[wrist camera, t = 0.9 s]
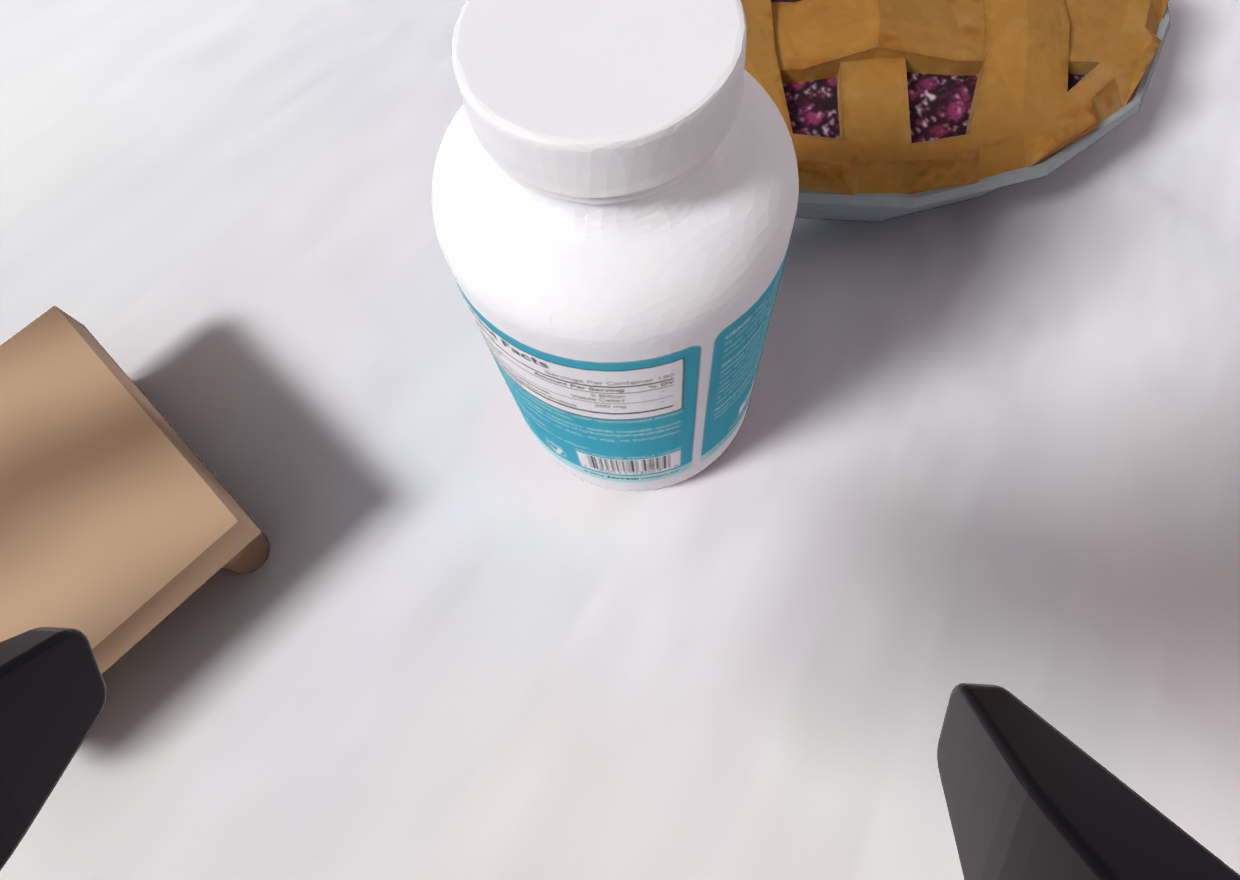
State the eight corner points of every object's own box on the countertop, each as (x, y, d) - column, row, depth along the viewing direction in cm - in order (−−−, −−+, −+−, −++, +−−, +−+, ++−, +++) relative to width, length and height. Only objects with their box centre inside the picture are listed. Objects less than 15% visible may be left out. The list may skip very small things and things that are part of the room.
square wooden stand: (300, 549, 22) (238, 521, 19) (19, 805, 20) (-106, 823, 17) (133, 358, 25) (54, 305, 22) (-130, 563, 23) (-261, 538, 20)
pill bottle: (667, 261, 25) (672, -184, 13) (793, 422, 23) (952, 64, 10) (484, 364, 24) (292, -12, 12) (595, 544, 22) (503, 311, 9)
